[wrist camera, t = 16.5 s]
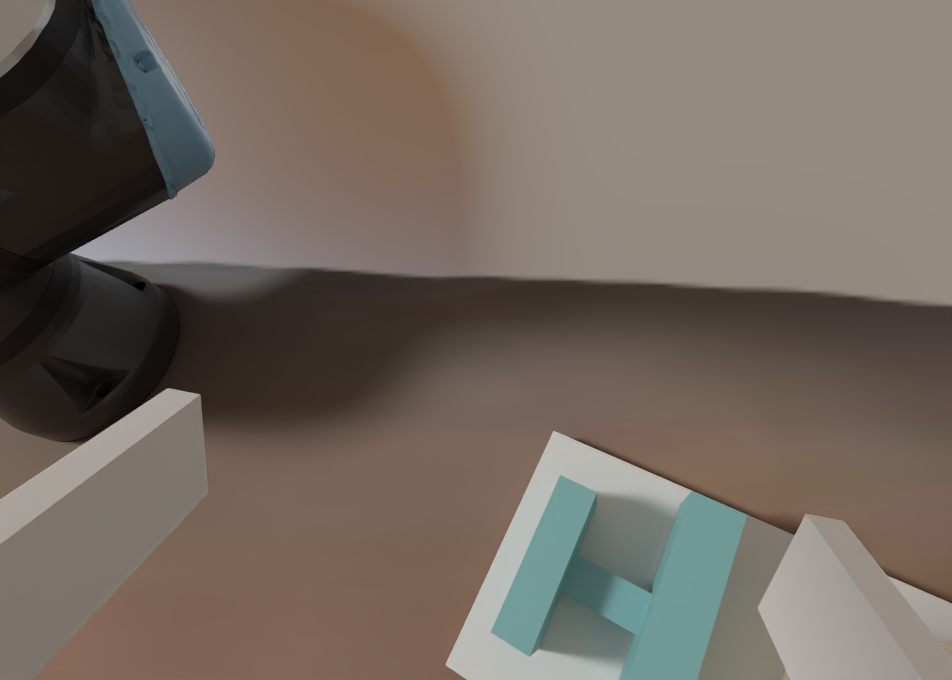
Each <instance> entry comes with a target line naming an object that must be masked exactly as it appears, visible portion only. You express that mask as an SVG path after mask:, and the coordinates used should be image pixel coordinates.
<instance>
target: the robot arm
mask: <svg viewBox="0 0 952 680" xmlns="http://www.w3.org/2000/svg"><path fill="white" fill-rule="evenodd" d="M214 158H215V149H214V145H213V142H212V140H211V138H210V136H209V134H208V132H207V130H206V128H205V126H204V124H203V122H202V120H201V118H200V116H199V114H198V113H197V111H196V109H195V107H194V105H193V104H192V102H191V100H190V98H189V97H188V95H187V93H186V91H185V90H184V88H183V86H182V85H181V83H180V81H179V80H178V78H177V76H176V74H175V73H174V71H173V69H172V68H171V66H170V64H169V63H168V61H167V60H166V58H165V56H164V55H163V53H162V51H161V50H160V48H159V47H158V45H157V43H156V42H155V40H154V39H153V37H152V35H151V33H150V32H149V30H148V29H147V27H146V26H145V24H144V22H143V21H142V19H141V18H140V16H139V15H138V13H137V12H136V10H135V9H134V7H133V6H132V4H131V2H130V1H129V0H0V418H2V419H3V420H4V421H6V422H7V423H8V424H10V425H11V426H12V427H14V428H16V429H18V430H20V431H23V432H26V433H29V434H32V435H35V436H39V437H42V438H46V439H49V440H54V441H71V440H77V439H82V438H85V437H88V436H91V435H93V434H96V433H98V432H100V431H102V430H104V429H105V430H104V431H102V432H101V433H99V434H98V435H96V436H95V437H93V438H92V439H90V440H89V441H87V442H86V443H84V444H83V445H81V446H80V447H78V448H77V449H75V450H74V451H72V452H71V453H69V454H68V455H66V456H65V457H63V458H62V459H60V460H59V461H57V462H56V463H54V464H53V465H51V466H50V467H48V468H47V469H45V470H44V471H42V472H41V473H39V474H38V475H36V476H35V477H33V478H32V479H30V480H29V481H27V482H26V483H24V484H23V485H21V486H20V487H18V488H17V489H15V490H14V491H12V492H11V493H9V494H8V495H6V496H5V497H3V498H2V499H0V680H32V679H33V678H34V677H35V676H36V675H37V674H38V673H39V672H40V671H41V670H42V669H43V668H44V667H45V666H46V665H47V664H48V662H49V661H50V660H51V659H52V658H53V657H54V656H55V655H56V654H57V653H58V652H59V651H60V650H61V649H62V648H63V647H64V646H65V644H66V643H67V642H68V641H69V640H70V639H71V638H72V637H73V636H74V635H75V634H76V633H77V632H78V631H79V630H80V629H81V628H82V626H83V625H84V624H85V623H86V622H87V621H88V620H89V619H90V618H91V617H92V616H93V615H94V614H95V613H96V612H97V611H98V610H99V608H100V607H101V606H102V605H103V604H104V603H105V602H106V601H107V600H108V599H109V598H110V597H111V596H112V595H113V594H114V593H115V592H116V590H117V589H118V588H119V587H120V586H121V585H122V584H123V583H124V582H125V581H126V580H127V579H128V578H129V577H130V576H131V575H132V574H133V572H134V571H135V570H136V569H137V568H138V567H139V566H140V565H141V564H142V563H143V562H144V561H145V560H146V559H147V558H148V557H149V556H150V554H151V553H152V552H153V551H154V550H155V549H156V548H157V547H158V546H159V545H160V544H161V543H162V542H163V541H164V540H165V539H166V538H167V536H168V535H169V534H170V533H171V532H172V531H173V530H174V529H175V528H176V527H177V526H178V525H179V524H180V523H181V522H182V521H183V520H184V518H185V517H186V516H187V515H188V514H189V513H190V512H191V511H192V510H193V509H194V508H195V507H196V506H197V505H198V504H199V503H200V502H201V500H202V499H203V498H204V497H205V496H206V495H207V494H208V485H207V472H206V459H205V446H204V433H203V420H202V407H201V395H200V394H195V393H190V392H185V391H180V390H175V389H170V388H167V389H166V390H164V391H163V392H161V393H160V394H158V395H157V396H155V397H154V398H152V399H151V400H149V401H148V402H146V403H145V404H143V405H142V406H140V407H139V408H137V409H136V410H134V411H132V410H133V409H134V408H135V407H136V406H138V405H139V404H140V403H141V402H142V401H143V400H144V398H145V397H146V396H147V395H148V394H149V393H150V392H151V390H152V389H153V388H154V386H155V385H156V384H157V382H158V381H159V379H160V378H161V376H162V375H163V373H164V371H165V370H166V368H167V366H168V364H169V362H170V360H171V357H172V355H173V352H174V349H175V346H176V342H177V337H178V329H179V322H178V314H177V310H176V307H175V305H174V303H173V301H172V300H171V298H170V297H169V296H168V295H167V294H166V293H165V292H164V291H162V290H161V289H160V288H158V287H157V286H155V285H154V284H153V283H151V282H150V281H148V280H147V279H146V278H144V277H142V276H140V275H138V274H135V273H132V272H129V271H126V270H123V269H120V268H116V267H113V266H110V265H107V264H104V263H101V262H97V261H94V260H91V259H88V258H84V257H82V256H78V255H75V254H72V253H70V252H72V251H74V250H75V249H77V248H79V247H81V246H83V245H85V244H87V243H88V242H90V241H92V240H94V239H96V238H98V237H99V236H101V235H103V234H105V233H107V232H108V231H110V230H112V229H114V228H116V227H118V226H119V225H121V224H123V223H125V222H127V221H129V220H131V219H133V218H134V217H136V216H138V215H140V214H142V213H144V212H146V211H147V210H149V209H151V208H153V207H155V206H157V205H158V204H160V203H162V202H164V201H166V200H168V199H173V198H174V197H176V196H177V192H178V191H180V190H181V189H183V188H185V187H186V186H188V185H189V184H191V183H192V182H194V181H195V180H197V179H198V178H200V177H202V176H203V175H205V174H206V173H207V172H208V171H209V170H210V169H211V167H212V165H213V162H214ZM131 411H132V412H131ZM130 412H131V413H130ZM128 413H129V414H128ZM127 414H128V415H127ZM106 428H107V429H106ZM758 610H759V612H760V615H761V617H762V619H763V621H764V623H765V625H766V628H767V630H768V632H769V634H770V636H771V639H772V641H773V643H774V645H775V647H776V650H777V652H778V654H779V656H780V658H781V660H782V663H783V665H784V667H785V669H786V671H787V674H788V676H789V678H790V680H952V658H951V656H950V655H949V654H948V652H947V651H946V650H945V649H944V647H943V646H942V645H941V644H940V642H939V641H938V640H937V639H936V637H935V636H934V635H933V633H932V632H931V631H930V630H929V628H928V627H927V626H926V625H925V623H924V622H923V621H922V619H921V618H920V617H919V616H918V614H917V613H916V612H915V611H914V609H913V608H912V607H911V606H910V604H909V603H908V602H907V600H906V599H905V598H904V597H903V595H902V594H901V593H900V592H899V590H898V589H897V588H896V586H895V585H894V584H893V583H892V581H891V580H890V579H889V578H888V576H887V575H886V574H885V573H884V571H883V570H882V569H881V567H880V566H879V565H878V564H877V562H876V561H875V560H874V559H873V557H872V556H871V555H870V553H869V552H868V551H867V550H866V548H865V547H864V546H863V545H862V543H861V542H860V541H859V540H858V538H857V537H856V536H855V534H854V533H853V532H852V531H851V529H850V528H849V527H848V526H847V524H846V523H845V522H844V521H841V520H836V519H831V518H826V517H821V516H816V515H811V514H805V516H804V518H803V520H802V522H801V524H800V526H799V528H798V530H797V532H796V534H795V536H794V538H793V540H792V542H791V544H790V546H789V547H788V549H787V551H786V553H785V555H784V557H783V559H782V561H781V563H780V565H779V567H778V569H777V571H776V573H775V575H774V577H773V579H772V581H771V583H770V585H769V587H768V589H767V590H766V592H765V594H764V596H763V598H762V600H761V602H760V604H759V606H758Z"/></svg>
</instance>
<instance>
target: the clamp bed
mask: <svg viewBox="0 0 952 680" xmlns="http://www.w3.org/2000/svg"><path fill="white" fill-rule="evenodd" d="M560 475H561V476H564V477H566V478H568V479H570V480H572V481H574V482H576V483H578V484H581V485H583V486H585V487H587V488H589V489H591V490H593V491H596V492H597V506H596V509H595V511H594V514H593V516H592V518H591V521H590V523H589V526H588V528H587V531H586V533H585V536H584V538H583V541H582V543H581V545H580V548H579V550H578V553H577V555H579V556H581V557H582V558H584V559H586V560H588V561H590V562H592V563H594V564H596V565H598V566H600V567H602V568H603V569H605V570H607V571H609V572H611V573H613V574H615V575H617V576H619V577H621V578H622V579H624V580H626V581H628V582H630V583H632V584H634V585H636V586H638V587H640V588H641V589H643V590H645V591H647V592H649V591H650V589H651V586H652V583H653V580H654V577H655V574H656V572H657V569H658V566H659V563H660V560H661V557H662V554H663V552H664V549H665V546H666V543H667V540H668V537H669V535H670V532H671V529H672V526H673V523H674V520H675V517H676V515H677V512H678V509H679V506H680V504H681V503H682V502H683V501H684V499H685V498H686V497H687V496H688V495H689V494H690V493H691V490H689V489H687V488H684V487H682V486H680V485H677V484H675V483H673V482H671V481H668V480H666V479H664V478H661V477H659V476H657V475H654V474H652V473H650V472H648V471H645V470H643V469H641V468H638V467H636V466H634V465H631V464H629V463H627V462H624V461H622V460H620V459H618V458H615V457H613V456H611V455H608V454H606V453H604V452H601V451H599V450H597V449H595V448H592V447H590V446H588V445H585V444H583V443H581V442H578V441H576V440H574V439H571V438H569V437H567V436H565V435H562V434H560V433H558V432H555V431H553V433H552V436H551V438H550V440H549V442H548V444H547V446H546V449H545V451H544V453H543V455H542V457H541V459H540V462H539V464H538V466H537V468H536V470H535V472H534V475H533V477H532V479H531V481H530V483H529V485H528V488H527V490H526V492H525V494H524V496H523V498H522V501H521V503H520V505H519V507H518V509H517V511H516V514H515V516H514V518H513V520H512V522H511V524H510V527H509V529H508V531H507V533H506V535H505V537H504V540H503V542H502V544H501V546H500V548H499V550H498V553H497V555H496V557H495V559H494V561H493V563H492V566H491V568H490V570H489V572H488V574H487V576H486V579H485V581H484V583H483V585H482V587H481V589H480V592H479V594H478V596H477V598H476V600H475V602H474V605H473V607H472V609H471V611H470V613H469V615H468V618H467V620H466V622H465V624H464V626H463V628H462V631H461V633H460V635H459V637H458V639H457V641H456V644H455V646H454V648H453V650H452V652H451V654H450V657H449V659H448V661H447V663H446V666H448V667H449V668H451V669H452V670H454V671H455V672H457V673H458V674H460V675H461V676H462V677H464V678H465V679H467V680H619V677H620V674H621V671H622V668H623V666H624V663H625V660H626V657H627V654H628V651H629V648H630V646H631V643H632V640H633V637H634V633H632V632H630V631H628V630H626V629H625V628H623V627H621V626H619V625H618V624H616V623H614V622H612V621H611V620H609V619H607V618H605V617H603V616H602V615H600V614H598V613H596V612H595V611H593V610H591V609H589V608H587V607H586V606H584V605H582V604H580V603H579V602H577V601H575V600H573V599H571V598H570V597H568V596H566V595H564V594H563V593H561V594H560V597H559V599H558V602H557V604H556V607H555V609H554V612H553V614H552V616H551V619H550V621H549V624H548V626H547V629H546V631H545V634H544V636H543V638H542V641H541V643H540V646H539V648H538V650H537V651H536V652H535V653H533V654H532V655H531V656H530V657H529V656H527V655H525V654H524V653H522V652H521V651H519V650H518V649H516V648H514V647H513V646H511V645H510V644H508V643H506V642H505V641H503V640H502V639H500V638H499V637H497V636H495V635H494V634H492V633H491V630H492V628H493V626H494V623H495V621H496V619H497V616H498V614H499V612H500V610H501V607H502V605H503V603H504V601H505V598H506V596H507V594H508V592H509V589H510V587H511V585H512V583H513V580H514V578H515V576H516V574H517V571H518V569H519V567H520V565H521V562H522V560H523V558H524V555H525V553H526V551H527V549H528V546H529V544H530V542H531V540H532V537H533V535H534V533H535V531H536V528H537V526H538V524H539V522H540V519H541V517H542V515H543V513H544V510H545V508H546V506H547V504H548V501H549V499H550V497H551V495H552V492H553V490H554V488H555V485H556V483H557V481H558V479H559V476H560ZM693 492H694V491H693ZM700 495H701V494H700ZM702 496H703V495H702ZM709 499H710V498H709ZM716 502H717V501H716ZM723 505H724V504H723ZM732 509H733V508H732ZM739 512H740V511H739ZM746 515H747V514H746ZM794 536H795V535H793V534H790V533H788V532H786V531H783V530H781V529H779V528H777V527H774V526H772V525H770V524H767V523H765V522H763V521H760V520H758V519H756V518H754V517H751V516H749V515H747V517H746V520H745V524H744V527H743V530H742V534H741V537H740V540H739V544H738V547H737V550H736V554H735V557H734V560H733V563H732V567H731V570H730V573H729V577H728V580H727V583H726V587H725V590H724V593H723V596H722V600H721V603H720V606H719V610H718V613H717V616H716V620H715V623H714V626H713V630H712V633H711V636H710V639H709V643H708V646H707V649H706V653H705V656H704V659H703V663H702V666H701V669H700V672H699V676H698V679H697V680H782V676H783V672H784V668H785V667H784V665H783V663H782V660H781V658H780V656H779V654H778V652H777V650H776V647H775V645H774V643H773V641H772V639H771V636H770V634H769V632H768V630H767V628H766V625H765V623H764V621H763V619H762V617H761V615H760V612H759V610H758V606H759V604H760V602H761V600H762V598H763V596H764V594H765V592H766V590H767V589H768V587H769V585H770V583H771V581H772V579H773V577H774V575H775V573H776V571H777V569H778V567H779V565H780V563H781V561H782V559H783V557H784V555H785V553H786V551H787V549H788V547H789V546H790V544H791V542H792V540H793V538H794ZM888 578H889V579H890V580H891V581H892V583H893V584H894V585H895V586H896V588H897V589H898V590H899V592H900V593H901V594H902V595H903V597H904V598H905V599H906V600H907V602H908V603H909V604H910V606H911V607H912V608H913V609H914V611H915V612H916V613H917V614H918V616H919V617H920V618H921V619H922V621H923V622H924V623H925V625H926V626H927V627H928V628H929V630H930V631H931V632H932V633H933V635H934V636H935V637H936V639H937V640H938V641H939V642H946V643H952V603H949V602H947V601H945V600H942V599H940V598H938V597H936V596H933V595H931V594H929V593H926V592H924V591H922V590H919V589H917V588H915V587H912V586H910V585H908V584H906V583H903V582H901V581H899V580H896V579H894V578H892V577H889V576H888Z"/></svg>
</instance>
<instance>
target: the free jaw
mask: <svg viewBox="0 0 952 680" xmlns="http://www.w3.org/2000/svg"><path fill="white" fill-rule="evenodd" d="M596 506H597V492H596V491H593V490H591V489H589V488H587V487H585V486H583V485H581V484H578V483H576V482H574V481H572V480H570V479H568V478H566V477H564V476H561V475H560V476H559V479H558V481H557V483H556V485H555V488H554V490H553V492H552V495H551V497H550V499H549V501H548V504H547V506H546V508H545V510H544V513H543V515H542V517H541V519H540V522H539V524H538V526H537V528H536V531H535V533H534V535H533V537H532V540H531V542H530V544H529V546H528V549H527V551H526V553H525V555H524V558H523V560H522V562H521V565H520V567H519V569H518V571H517V574H516V576H515V578H514V580H513V583H512V585H511V587H510V589H509V592H508V594H507V596H506V598H505V601H504V603H503V605H502V607H501V610H500V612H499V614H498V616H497V619H496V621H495V623H494V626H493V628H492V630H491V633H492V634H494V635H495V636H497V637H499V638H500V639H502V640H503V641H505V642H506V643H508V644H510V645H511V646H513V647H514V648H516V649H518V650H519V651H521V652H522V653H524V654H525V655H527V656H529V657H530V656H531V655H532V654H533V653H535V652H536V651H537V650H538V648H539V646H540V643H541V641H542V638H543V636H544V634H545V631H546V629H547V626H548V624H549V621H550V619H551V616H552V614H553V612H554V609H555V607H556V604H557V602H558V599H559V597H560V594H561V593H563V594H564V595H566V596H568V597H570V598H571V599H573V600H575V601H577V602H579V603H580V604H582V605H584V606H586V607H587V608H589V609H591V610H593V611H595V612H596V613H598V614H600V615H602V616H603V617H605V618H607V619H609V620H611V621H612V622H614V623H616V624H618V625H619V626H621V627H623V628H625V629H626V630H628V631H630V632H632V633H634V637H633V640H632V643H631V646H630V648H629V651H628V654H627V657H626V660H625V663H624V666H623V668H622V671H621V674H620V677H619V680H697V679H698V676H699V672H700V669H701V666H702V663H703V659H704V656H705V653H706V649H707V646H708V643H709V639H710V636H711V633H712V630H713V626H714V623H715V620H716V616H717V613H718V610H719V606H720V603H721V600H722V596H723V593H724V590H725V587H726V583H727V580H728V577H729V573H730V570H731V567H732V563H733V560H734V557H735V554H736V550H737V547H738V544H739V540H740V537H741V534H742V530H743V527H744V524H745V520H746V517H747V515H746V514H744V513H742V512H739V511H737V510H735V509H732V508H730V507H728V506H726V505H723V504H721V503H719V502H716V501H714V500H712V499H709V498H707V497H705V496H702V495H700V494H698V493H696V492H693V491H691V493H690V494H689V495H688V496H687V497H686V498H685V499H684V501H683V502H682V503H681V504H680V506H679V509H678V512H677V515H676V517H675V520H674V523H673V526H672V529H671V532H670V535H669V537H668V540H667V543H666V546H665V549H664V552H663V554H662V557H661V560H660V563H659V566H658V569H657V572H656V574H655V577H654V580H653V583H652V586H651V589H650V591H649V592H647V591H645V590H643V589H641V588H640V587H638V586H636V585H634V584H632V583H630V582H628V581H626V580H624V579H622V578H621V577H619V576H617V575H615V574H613V573H611V572H609V571H607V570H605V569H603V568H602V567H600V566H598V565H596V564H594V563H592V562H590V561H588V560H586V559H584V558H582V557H581V556H579V555H577V553H578V550H579V548H580V545H581V543H582V541H583V538H584V536H585V533H586V531H587V528H588V526H589V523H590V521H591V518H592V516H593V514H594V511H595V509H596Z"/></svg>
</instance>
